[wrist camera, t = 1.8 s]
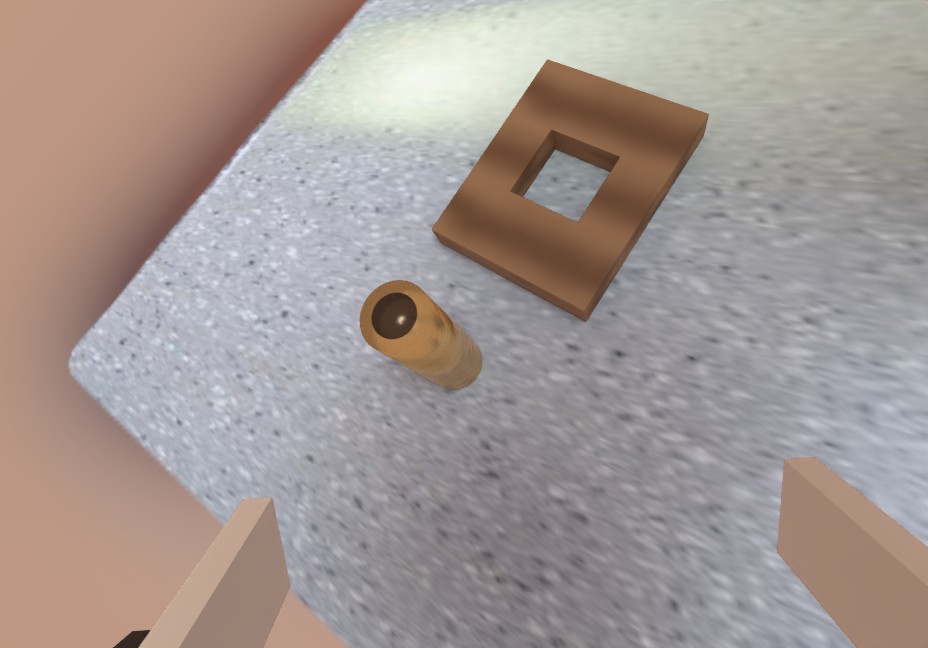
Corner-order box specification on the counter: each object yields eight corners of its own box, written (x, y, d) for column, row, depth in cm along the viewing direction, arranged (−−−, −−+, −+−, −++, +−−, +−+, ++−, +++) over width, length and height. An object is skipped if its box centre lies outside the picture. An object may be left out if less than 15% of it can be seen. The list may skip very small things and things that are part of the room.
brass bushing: (448, 325, 49) (387, 267, 36) (492, 353, 47) (444, 301, 34) (418, 371, 49) (345, 328, 36) (462, 400, 47) (400, 366, 34)
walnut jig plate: (551, 81, 54) (547, 59, 51) (703, 135, 48) (708, 114, 45) (441, 243, 52) (431, 229, 49) (586, 321, 46) (583, 310, 43)
